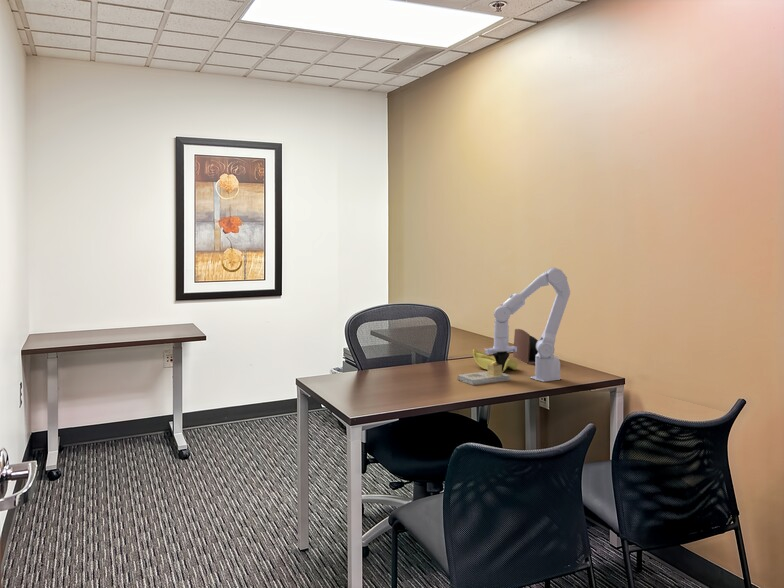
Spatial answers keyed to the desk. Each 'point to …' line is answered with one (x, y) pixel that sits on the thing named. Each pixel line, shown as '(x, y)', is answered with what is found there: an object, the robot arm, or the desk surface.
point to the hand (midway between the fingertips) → (500, 370)
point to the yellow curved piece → (485, 360)
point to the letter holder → (525, 346)
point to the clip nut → (494, 368)
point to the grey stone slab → (482, 378)
